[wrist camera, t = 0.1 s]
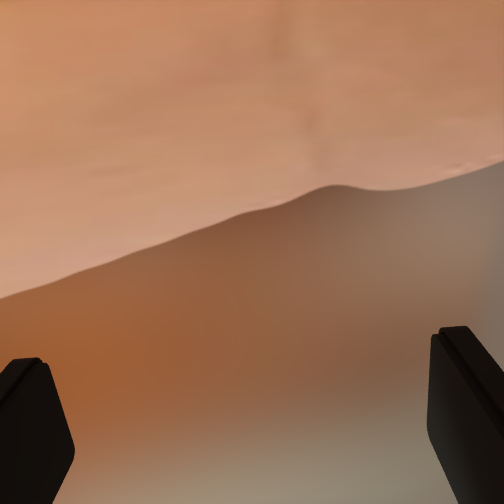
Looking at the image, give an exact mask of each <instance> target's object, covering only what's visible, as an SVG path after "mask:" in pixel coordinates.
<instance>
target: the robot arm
mask: <svg viewBox="0 0 504 504" xmlns="http://www.w3.org/2000/svg"><path fill="white" fill-rule="evenodd" d="M427 431H428V435H429V439H430V441H431V444H432V446H433V448H434V450H435V452H436V455H437V457H438V459H439V461H440V463H441V466H442V468H443V470H444V472H445V475H446V477H447V479H448V481H449V484H450V486H451V488H452V490H453V492H454V495H455V497H456V499H457V501H458V504H504V372H503V371H502V369H501V368H500V367H499V365H498V364H497V363H496V362H495V361H494V359H493V358H492V357H491V355H490V354H489V353H488V352H487V350H486V349H485V348H484V346H482V344H481V343H480V341H479V340H478V339H477V338H476V336H475V335H474V334H473V333H472V331H471V330H470V329H469V328H468V327H467V326H455V327H443V328H440V330H439V334H433V335H432V337H431V350H430V369H429V389H428V410H427ZM74 453H75V447H74V443H73V440H72V437H71V433H70V430H69V428H68V424H67V421H66V418H65V415H64V411H63V408H62V405H61V402H60V399H59V396H58V393H57V389H56V386H55V383H54V380H53V377H52V374H51V371H50V368H49V365H48V364H47V363H43V362H42V360H40V358H37V357H36V358H23V359H14V360H12V361H11V362H10V363H9V364H8V365H7V366H6V367H5V369H4V370H3V371H2V372H1V373H0V504H52V503H53V501H54V499H55V497H56V495H57V493H58V491H59V489H60V487H61V485H62V483H63V480H64V478H65V476H66V474H67V472H68V470H69V468H70V466H71V464H72V462H73V459H74Z"/></svg>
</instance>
